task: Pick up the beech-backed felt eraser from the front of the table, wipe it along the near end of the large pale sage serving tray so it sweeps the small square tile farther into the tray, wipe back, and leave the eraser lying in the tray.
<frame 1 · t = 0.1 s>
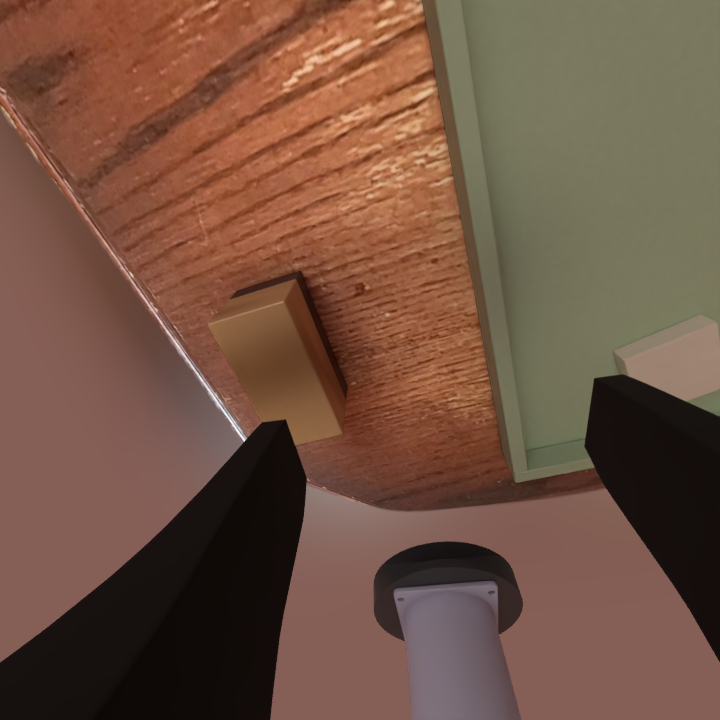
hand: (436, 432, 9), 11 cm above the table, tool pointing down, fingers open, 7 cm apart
eraser: (295, 342, 20), on the table
square tile: (662, 363, 19), point 1 cm above the table, touching tray
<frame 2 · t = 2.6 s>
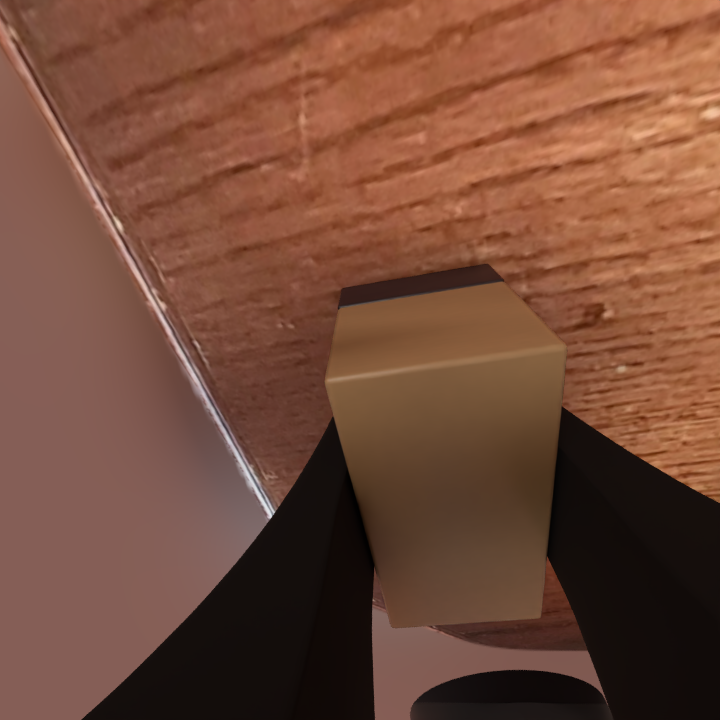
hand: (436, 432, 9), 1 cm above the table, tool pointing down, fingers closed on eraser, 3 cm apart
eraser: (427, 398, 10), on the table, touching gripper
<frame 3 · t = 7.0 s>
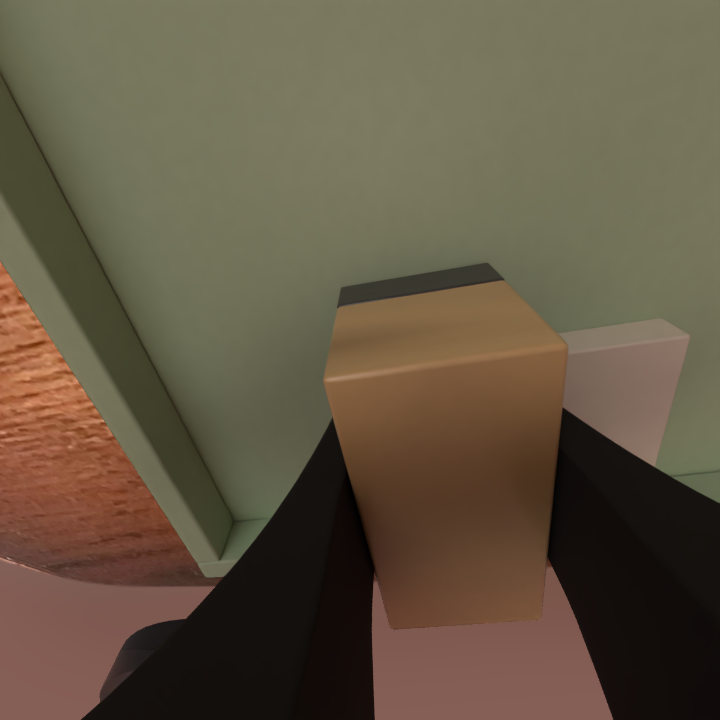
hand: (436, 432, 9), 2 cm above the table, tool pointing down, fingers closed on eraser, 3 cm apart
eraser: (427, 398, 10), point 1 cm above the table, touching gripper
square tile: (566, 396, 10), point 1 cm above the table, touching tray
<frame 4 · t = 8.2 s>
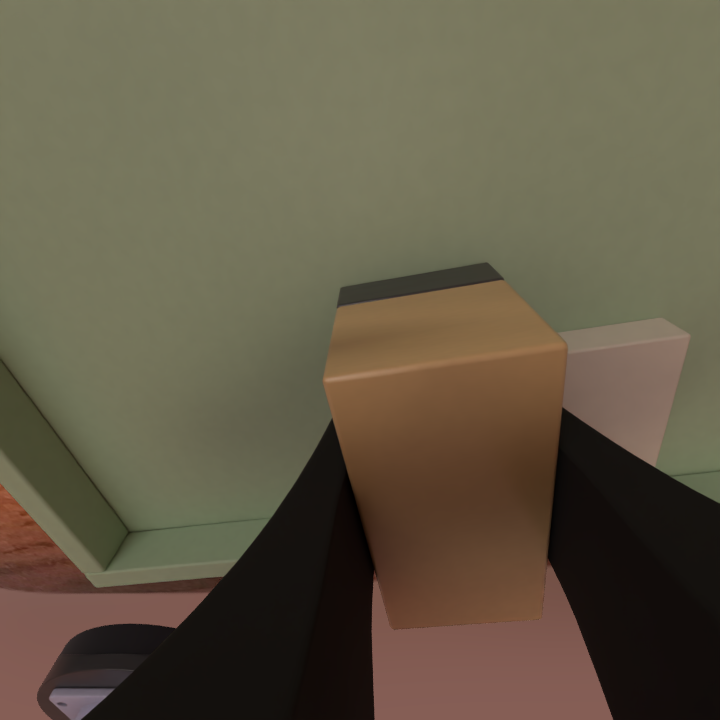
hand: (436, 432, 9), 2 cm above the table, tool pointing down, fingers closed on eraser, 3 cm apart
eraser: (427, 398, 10), point 1 cm above the table, touching gripper, square tile, tray
square tile: (567, 395, 10), point 1 cm above the table, touching eraser, tray
when the fingers open (2 cm above the table, at t = 10.9 s): eraser stays where it is, resting on tray.
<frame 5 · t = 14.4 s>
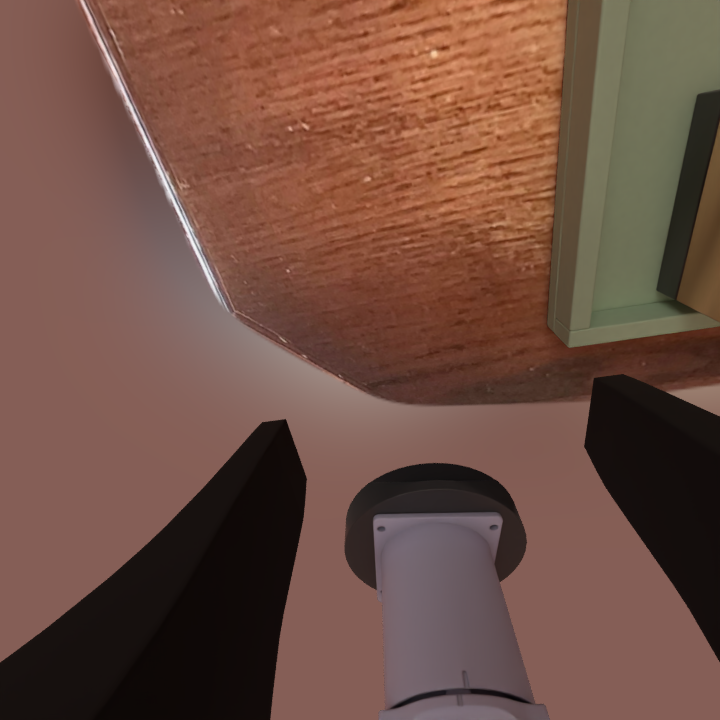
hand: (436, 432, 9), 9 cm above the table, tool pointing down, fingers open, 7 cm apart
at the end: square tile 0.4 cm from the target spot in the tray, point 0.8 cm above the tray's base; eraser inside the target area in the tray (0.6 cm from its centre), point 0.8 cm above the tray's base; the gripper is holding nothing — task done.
